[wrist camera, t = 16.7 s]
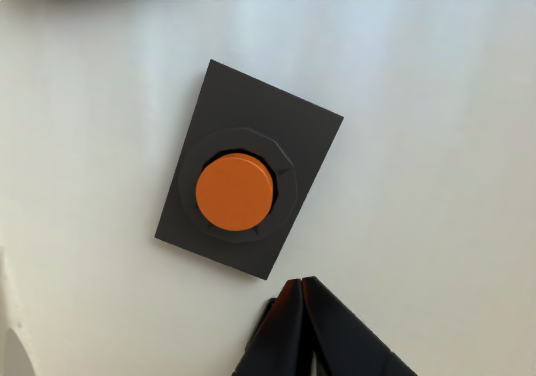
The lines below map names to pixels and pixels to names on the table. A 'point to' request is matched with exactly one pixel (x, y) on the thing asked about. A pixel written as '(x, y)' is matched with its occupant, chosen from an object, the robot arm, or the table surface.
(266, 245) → the push button base
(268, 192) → the orange push button
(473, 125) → the table surface
